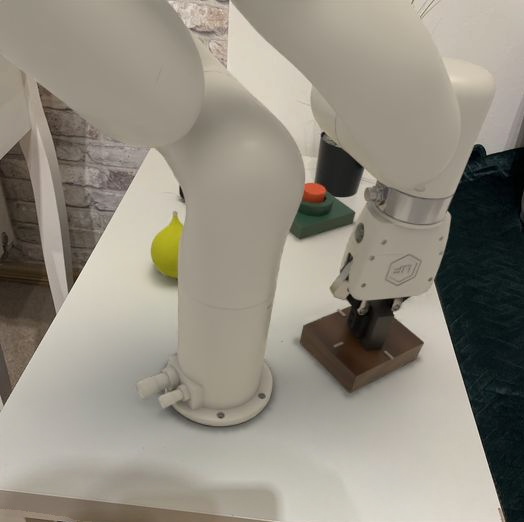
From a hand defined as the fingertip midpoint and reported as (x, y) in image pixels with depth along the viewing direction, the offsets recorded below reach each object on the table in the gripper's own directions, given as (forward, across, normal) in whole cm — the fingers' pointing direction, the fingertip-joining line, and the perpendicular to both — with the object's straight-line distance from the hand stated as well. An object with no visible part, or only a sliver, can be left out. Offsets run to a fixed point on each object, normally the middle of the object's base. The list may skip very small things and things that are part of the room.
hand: (365, 329), depth 66 cm
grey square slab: (+1, 0, 0) cm, 1 cm away
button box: (+4, +4, +32) cm, 33 cm away
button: (0, +4, +32) cm, 33 cm away
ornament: (+4, -21, +19) cm, 28 cm away
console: (+4, 0, 0) cm, 4 cm away
